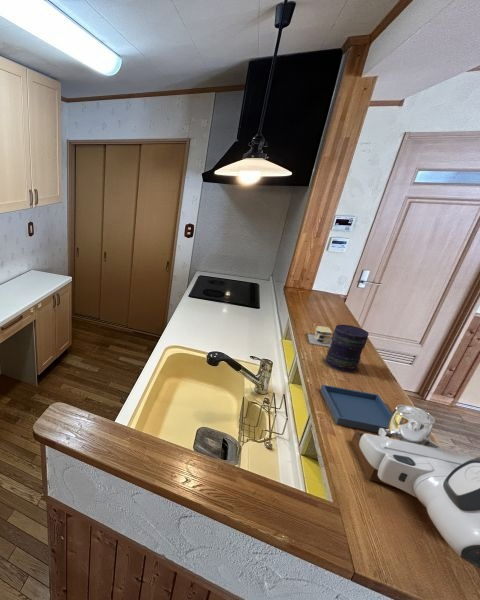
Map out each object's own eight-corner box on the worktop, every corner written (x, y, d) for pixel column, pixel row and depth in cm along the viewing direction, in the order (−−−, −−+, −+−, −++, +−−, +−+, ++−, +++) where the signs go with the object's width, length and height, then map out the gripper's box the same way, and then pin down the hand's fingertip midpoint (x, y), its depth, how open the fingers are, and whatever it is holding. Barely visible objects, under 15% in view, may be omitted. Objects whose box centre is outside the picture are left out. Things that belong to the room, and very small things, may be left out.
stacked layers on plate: (307, 333, 149) (310, 323, 147) (330, 338, 145) (334, 327, 143) (309, 343, 141) (312, 331, 139) (334, 347, 137) (338, 336, 135)
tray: (375, 400, 105) (378, 394, 104) (402, 438, 90) (405, 431, 89) (320, 390, 110) (322, 384, 109) (336, 424, 95) (338, 417, 94)
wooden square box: (409, 456, 84) (415, 444, 82) (438, 497, 73) (445, 485, 72) (350, 442, 88) (354, 431, 87) (369, 480, 77) (374, 467, 76)
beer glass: (374, 463, 80) (394, 414, 75) (375, 447, 85) (394, 400, 79) (413, 479, 75) (437, 429, 70) (412, 461, 80) (435, 412, 75)
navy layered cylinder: (333, 356, 131) (344, 322, 125) (362, 368, 122) (374, 332, 117) (319, 362, 126) (329, 327, 121) (347, 374, 118) (360, 338, 113)
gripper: (514, 486, 61) (465, 435, 73) (379, 455, 68) (355, 414, 80) (499, 510, 63) (454, 457, 75) (370, 477, 71) (348, 434, 83)
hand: (402, 434), depth 78 cm, fingers closed on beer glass, 6 cm apart
